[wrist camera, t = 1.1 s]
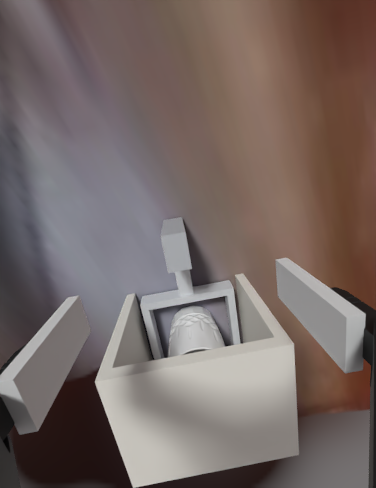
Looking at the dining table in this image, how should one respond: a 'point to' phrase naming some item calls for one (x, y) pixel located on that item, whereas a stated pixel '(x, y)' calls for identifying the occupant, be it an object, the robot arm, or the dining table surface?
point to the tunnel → (201, 397)
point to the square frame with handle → (183, 286)
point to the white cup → (193, 332)
